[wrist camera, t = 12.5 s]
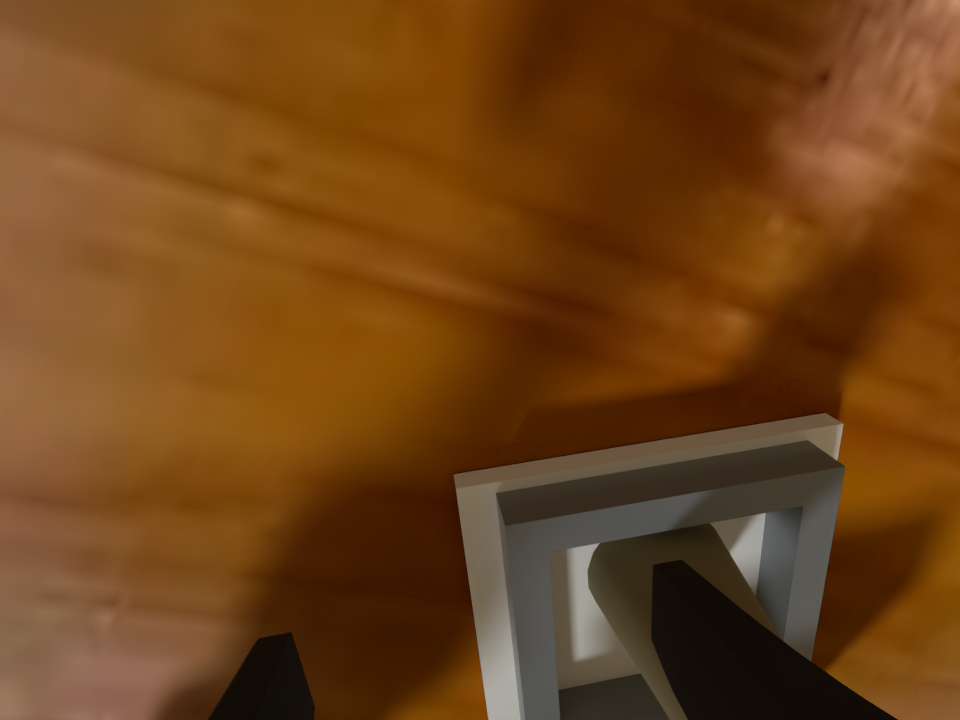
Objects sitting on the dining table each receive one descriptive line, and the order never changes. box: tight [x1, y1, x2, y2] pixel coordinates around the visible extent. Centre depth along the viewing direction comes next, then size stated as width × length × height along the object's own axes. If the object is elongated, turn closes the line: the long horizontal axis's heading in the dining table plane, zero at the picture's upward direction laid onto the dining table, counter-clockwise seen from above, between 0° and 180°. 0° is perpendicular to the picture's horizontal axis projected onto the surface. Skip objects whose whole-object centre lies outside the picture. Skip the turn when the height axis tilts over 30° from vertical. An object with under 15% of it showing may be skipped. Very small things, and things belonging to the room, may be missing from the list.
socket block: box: [454, 413, 845, 720], centre depth 21 cm, size 16×19×10 cm
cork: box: [587, 523, 782, 720], centre depth 18 cm, size 6×6×11 cm
